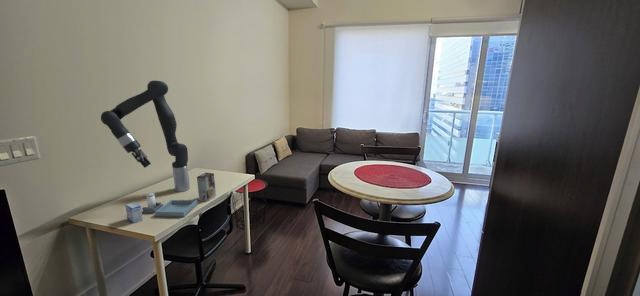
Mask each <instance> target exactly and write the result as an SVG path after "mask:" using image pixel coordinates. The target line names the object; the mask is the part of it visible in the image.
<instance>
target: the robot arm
mask: <svg viewBox="0 0 640 296" xmlns="http://www.w3.org/2000/svg"><path fill="white" fill-rule="evenodd" d="M146 86H147V88H146V90H144V91H142V92H141V93H139V94H137V95H135V96H132V97H129V98H127V99H125V100H123V101H122V102H120V103H118V104H117V105H116V106H115V107H114V108H112V109H111V110H105V111H103V112H102V113H101V115H100V120H101V122H102V123H101V124H104V125H105V126H107V128H108V129H109V130H110V131H111V134H112V135H113V136H114V137H115V139H116V140H117V141H118V143H119V144H120V145H121V147H122V148H123V149H124V150H125V152H126V153H128V154H130V153H131V154H130V155H131V156H133V158H134V159H135V160H136V162H137V163H140V164H141V165H142V167H143V168H144V169H145V168H147V167H149V166H150V165H151V162H150V160H149V159H148V156H147V155H146V153H144V151H143V150H142V149H140V148H141V146H142V145H141V144H140V142H139V141H138V140H137V139H136V137H135V136H134V135H133V134H131V132H130V131H129V130H128V129H127V127H126V126H125V125H124V124H123V122H122V121H121V120H122V119H123V118H124V117H126V116H128V115H129V114H131V113H134V112H135V111H136V110H137V109H139V108H140V107H141V108H142V106H144V105H146V104H148V103H149V102H151V101H152V102H153V105H154V109H155V112H156V114H157V118H158V121H159V123H160V127H161V131H162V134H163V136H164V140H165V144H166V149H167V152H168V154H169V155H170V156H173V157H174V158H175V160H174V161H173V162H172V163H171V165H172V174H173V175H172V176H173V184H174V191H175V192H186V191H188V190H190V189H191V188H190V187H191V186H190V184H191V183H190V176H189V175H190V174H189V169H188V162H189V152H188V147H187V145H186V144H184V143H179V142H178V140H177V136H176V132H177V127H178V126H177V119H176V117H175V114H174V112H173V111H172V109H171V107H170V106H169V104H168V102H167V100H166V97H165V95H167V94H168V92H169V87H168V84H167V83H165V82H164V81H161V80H155V79H154V80H150V81H148V83H147V85H146Z"/></svg>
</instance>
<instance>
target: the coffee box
mask: <svg viewBox="0 0 640 296" xmlns="http://www.w3.org/2000/svg"><path fill="white" fill-rule="evenodd" d="M196 180H197V181H196V182H197V192H198V200H199V201H202V202H209V201H211V200H212V199H214V198H215V197H217V193H216V182H215V181H216V180H215V173H214V172H213V173H211V172H204V173H202V174H200V175H197V176H196Z"/></svg>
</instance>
